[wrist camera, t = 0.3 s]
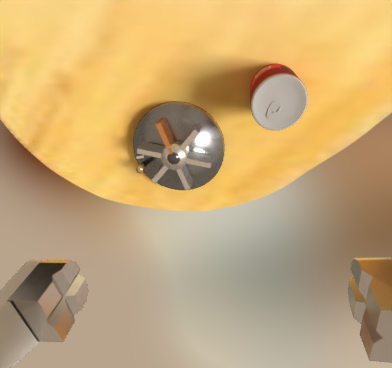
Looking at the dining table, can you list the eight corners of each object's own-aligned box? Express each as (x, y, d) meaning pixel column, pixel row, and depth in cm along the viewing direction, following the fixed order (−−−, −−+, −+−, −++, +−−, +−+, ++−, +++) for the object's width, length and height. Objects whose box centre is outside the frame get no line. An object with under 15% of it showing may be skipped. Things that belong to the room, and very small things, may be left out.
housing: (127, 105, 55) (118, 111, 51) (221, 97, 52) (219, 104, 48) (146, 186, 64) (139, 196, 60) (227, 184, 60) (225, 195, 57)
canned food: (244, 104, 52) (244, 124, 42) (258, 57, 48) (261, 68, 38) (286, 115, 51) (295, 136, 42) (303, 68, 47) (317, 81, 38)
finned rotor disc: (133, 128, 55) (126, 134, 52) (193, 106, 51) (190, 111, 48) (163, 188, 61) (159, 197, 58) (219, 173, 57) (218, 181, 54)
